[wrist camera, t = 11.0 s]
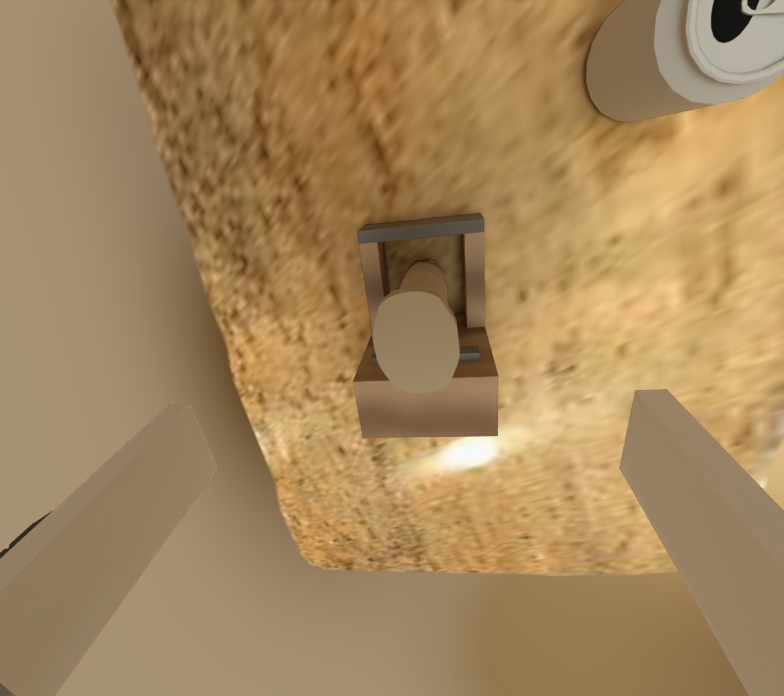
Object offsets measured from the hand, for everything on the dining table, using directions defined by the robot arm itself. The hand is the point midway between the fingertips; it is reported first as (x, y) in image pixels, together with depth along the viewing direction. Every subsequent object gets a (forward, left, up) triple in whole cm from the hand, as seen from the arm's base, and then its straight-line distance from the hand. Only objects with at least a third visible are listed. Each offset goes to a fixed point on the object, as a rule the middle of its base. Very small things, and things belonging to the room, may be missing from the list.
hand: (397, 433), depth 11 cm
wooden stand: (+5, 0, -25) cm, 26 cm away
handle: (+2, 0, -25) cm, 26 cm away
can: (-12, +16, -25) cm, 32 cm away
